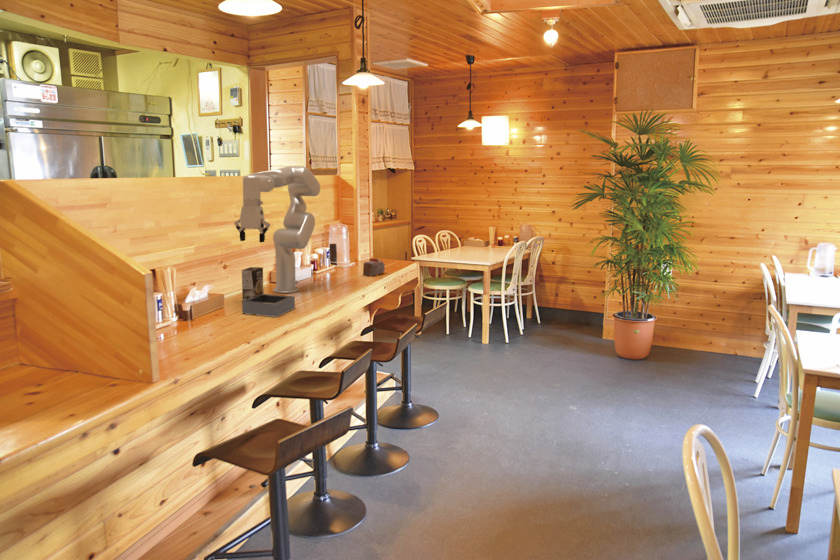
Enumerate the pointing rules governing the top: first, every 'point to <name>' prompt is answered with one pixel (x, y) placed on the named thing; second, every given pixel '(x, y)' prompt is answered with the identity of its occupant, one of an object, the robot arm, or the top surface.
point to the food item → (373, 267)
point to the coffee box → (252, 282)
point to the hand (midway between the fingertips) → (252, 241)
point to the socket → (268, 305)
